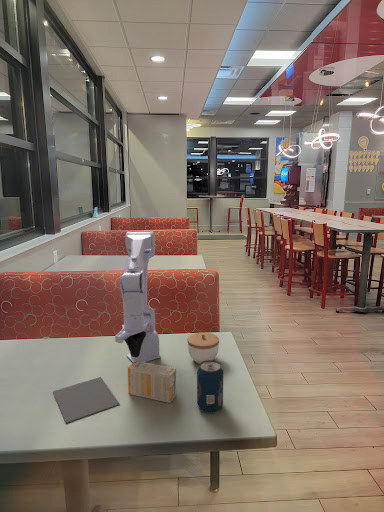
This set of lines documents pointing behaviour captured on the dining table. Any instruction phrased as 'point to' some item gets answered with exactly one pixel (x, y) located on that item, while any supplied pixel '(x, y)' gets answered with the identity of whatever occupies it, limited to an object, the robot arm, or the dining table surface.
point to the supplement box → (152, 381)
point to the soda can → (210, 386)
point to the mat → (84, 399)
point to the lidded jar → (203, 346)
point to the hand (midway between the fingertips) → (135, 356)
